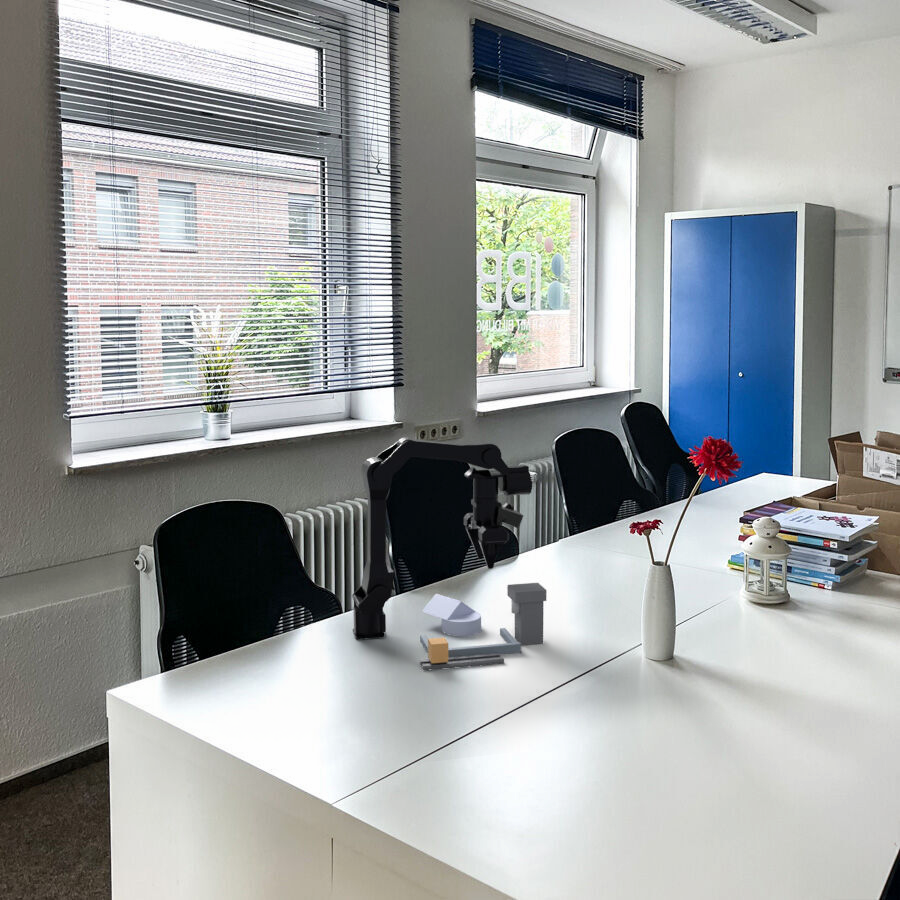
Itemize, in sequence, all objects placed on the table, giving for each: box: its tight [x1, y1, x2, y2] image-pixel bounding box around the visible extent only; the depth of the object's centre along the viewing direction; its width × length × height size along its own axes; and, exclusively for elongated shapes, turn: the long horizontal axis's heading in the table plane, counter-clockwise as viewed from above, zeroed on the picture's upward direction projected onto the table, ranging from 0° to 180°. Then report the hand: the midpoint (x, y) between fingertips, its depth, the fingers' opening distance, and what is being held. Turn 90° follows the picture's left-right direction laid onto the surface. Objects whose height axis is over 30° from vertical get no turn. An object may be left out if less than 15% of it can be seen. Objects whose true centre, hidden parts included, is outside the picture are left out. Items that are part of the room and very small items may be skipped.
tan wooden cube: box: [427, 637, 449, 663], centre depth 203 cm, size 4×4×5 cm
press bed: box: [419, 582, 547, 657], centre depth 215 cm, size 26×12×12 cm, turn 103°
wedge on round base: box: [421, 593, 482, 637], centre depth 228 cm, size 9×7×13 cm
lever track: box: [419, 653, 505, 671], centre depth 205 cm, size 17×4×1 cm, turn 103°
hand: (485, 563), depth 229 cm, fingers open, 9 cm apart
